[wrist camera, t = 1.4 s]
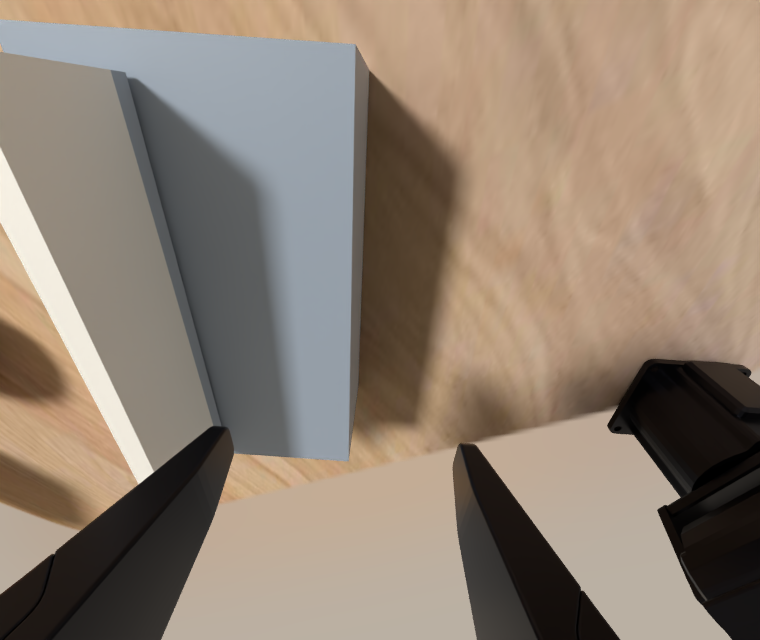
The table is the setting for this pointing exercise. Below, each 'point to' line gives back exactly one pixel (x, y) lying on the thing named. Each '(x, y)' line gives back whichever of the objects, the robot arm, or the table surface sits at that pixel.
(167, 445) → the l-shaped bar
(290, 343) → the carton
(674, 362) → the robot arm
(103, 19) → the table surface
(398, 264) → the table surface
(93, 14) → the table surface
